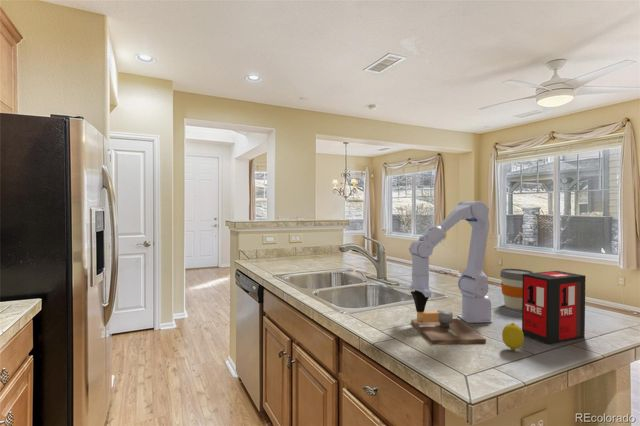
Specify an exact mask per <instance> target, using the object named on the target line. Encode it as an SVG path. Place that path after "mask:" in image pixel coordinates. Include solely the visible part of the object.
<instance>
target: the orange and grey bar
mask: <svg viewBox="0 0 640 426" xmlns="http://www.w3.org/2000/svg"><path fill="white" fill-rule="evenodd" d="M453 314H454V313H453V312H452V311H450V310H447V309H446V310H445V309H439V310H437V311H424V312H417V311H416V319H417V322H420V323H422V322H440V323H445V324H450V323H452V322H453V319H454V318H453V317H454V316H453Z"/></svg>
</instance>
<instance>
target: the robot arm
mask: <svg viewBox="0 0 640 426" xmlns="http://www.w3.org/2000/svg"><path fill="white" fill-rule="evenodd" d="M489 209H490V208H489V206H487V204H486V203H485V201H482V200H476V201H473V200H472V201H468V200H467V201H465V200H464V201H463V200H462V201H460V202H458V203H457V204H456V205H455V206H454V208H453V210H452V211H451V212H450V213H449V214H447V216H446V217H445V218H444V219H443V220H442V221H441V222H440V223H439V224H438V225H433V226H429V227H428V228H427V229H428V230H427V231H426V232H425V233H424V234H423V235H420V236H419V237H418V239H414V240H413V241H412V242H411V244H410V245H409V246H410V247H408V251H409V253H410V255H411V262H412V263H411V279H412V280H411V282H410V285H408V288H409V289H410V290H412V291H410V294H411V296H412V298H413V302H414V306H415V311H416V313H417V312H425V309H426V305H427V302H428V300H429V298H432V291H431V289H430V288H431V287H430V285H429V283H430V282H429V281H430V256H432V255H433V251H434V249H435V247H436V246H438V244H440V243H441V242H442V241H443V240H444V239H445V238H446V232H448V231H449V230H450V229H452V228H453V227H454V226H455V225H457V224H458V223H459V222H460V221H461V220H464V221H465V222H467V223H468V224H469V225H470V226H471V234H470V242H469V249H468V256H467V262H466V268H465V269H463V271H461V274H460V276H459V277H460V278H459V279H458V281H457V286H458V289H459V290H460V293H461V296H462V297H461V298H462V299H461V314H457V317H458V318H460V319H461V320H463V321H464V322H466V323H468V324H470V323H472V324H473V323H493V320H492V301H491V299H490V297H489V296H488V295H487V294H488V292H489V284H488V278H489V277H488V276H487V275H486V273H485V272H484V265H485V256H486V250H487V242H488V235H489V229H490V220H489ZM413 290H414V291H413Z"/></svg>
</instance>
